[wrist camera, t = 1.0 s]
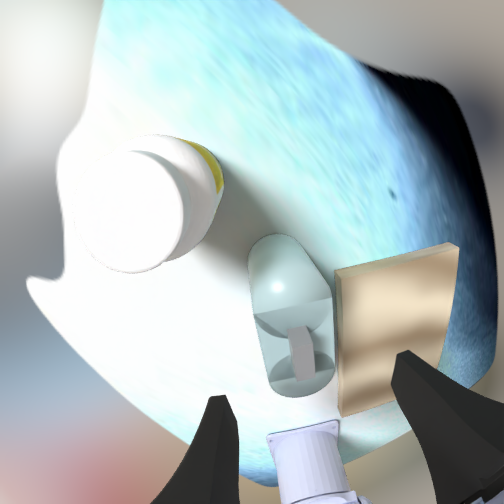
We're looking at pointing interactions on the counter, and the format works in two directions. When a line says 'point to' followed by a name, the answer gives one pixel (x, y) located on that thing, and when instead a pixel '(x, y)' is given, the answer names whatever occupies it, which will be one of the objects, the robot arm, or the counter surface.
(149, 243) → the supplement bottle
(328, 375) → the grey capsule with tab
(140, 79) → the counter surface
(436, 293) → the cutting board
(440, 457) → the robot arm
